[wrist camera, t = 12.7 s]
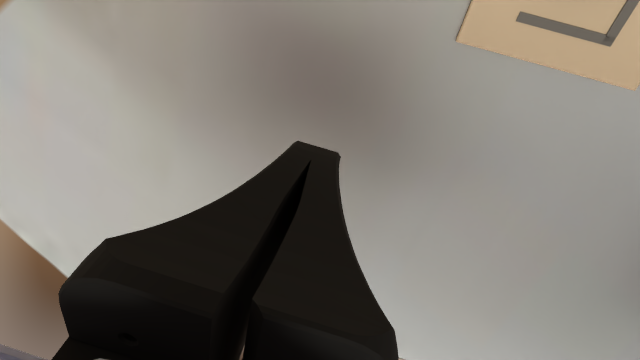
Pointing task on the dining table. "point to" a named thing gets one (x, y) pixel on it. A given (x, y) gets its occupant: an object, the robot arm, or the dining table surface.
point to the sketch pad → (562, 35)
